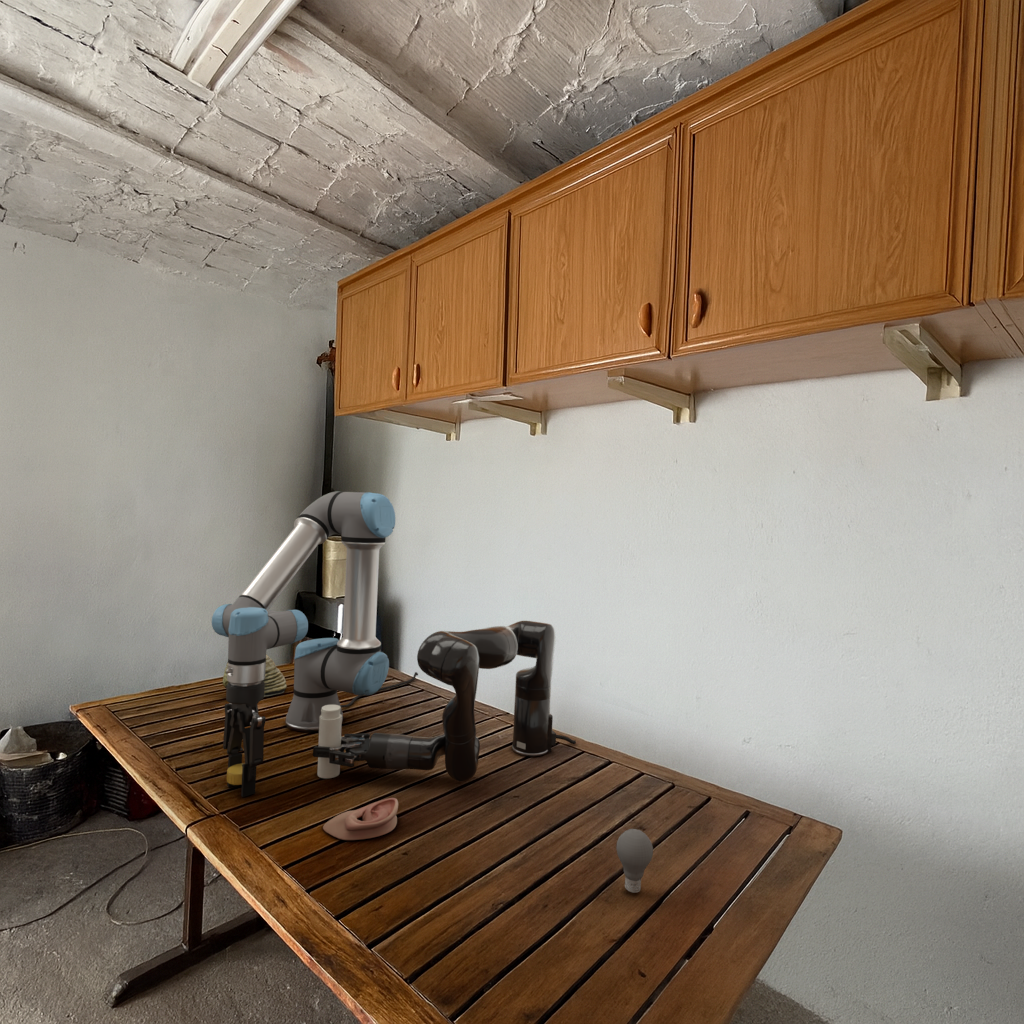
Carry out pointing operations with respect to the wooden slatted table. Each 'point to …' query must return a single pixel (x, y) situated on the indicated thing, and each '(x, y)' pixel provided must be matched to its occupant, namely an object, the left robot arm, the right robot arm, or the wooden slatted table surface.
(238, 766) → the lid
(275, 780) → the wooden slatted table surface
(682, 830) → the wooden slatted table surface
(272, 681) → the fossil
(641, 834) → the light bulb
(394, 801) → the anatomical model
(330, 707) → the bottle
